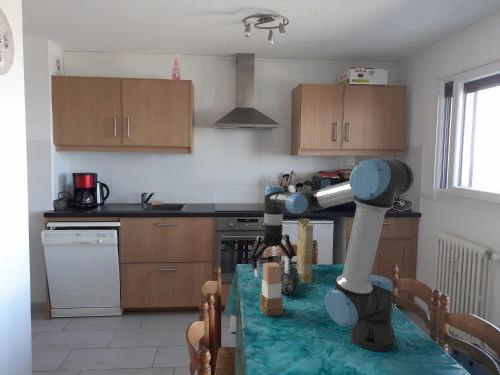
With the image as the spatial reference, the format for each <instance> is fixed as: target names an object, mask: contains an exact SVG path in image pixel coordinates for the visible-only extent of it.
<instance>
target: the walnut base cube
mask: <svg viewBox="0 0 500 375" xmlns="http://www.w3.org/2000/svg"><path fill="white" fill-rule="evenodd" d="M283 300H284V297H282V296H281V298H273V299H267V298H266V297H265V296H263V295H262V292H261V293H260V294H259V310H260V312H262V313H263V314H264V316H265V317H273V316H278V315H283V305H284V303H283V302H284V301H283Z"/></svg>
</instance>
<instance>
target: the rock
mask: <svg viewBox="0 0 500 375" xmlns="http://www.w3.org/2000/svg"><path fill="white" fill-rule="evenodd" d="M276 263H277V264H279V265H280V266H281V293H282V294H285V295H286V294H289V293H292V292H293V291H294V288H296V287H297V286H299V284H300V282H301V279H300V277H299V276H300V274H299V273H297V272H298V269H297V267H296V266H295V265H294V264H293V263H291V265H290V266H289V274H286V273H285V260H280V261H279V262H276Z"/></svg>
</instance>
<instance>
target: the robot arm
mask: <svg viewBox="0 0 500 375" xmlns="http://www.w3.org/2000/svg"><path fill="white" fill-rule="evenodd" d="M414 178H415V175H414V172H413V169H412V168H411V166H410V165H409V164H407V163H406V162H404V161H403V160H400V159H385V158H383V159H382V158H381V159H380V158H371V159H365V160H363V161H361V162H359V163H357V164H356V165H355V166H354V168H353V169H352V171H351V172H350V176H349V180H348V181H344V182H341V183H337V184H333V185H330V186H327V187H324V188H321V189H317V190H313V191H301V192H299V191H298V192H286V191H285V190H284V189H285V188H284V186H282V185H266V186H265V189H264V196H263V197H264V209H263V210H264V213H263V214H264V216H263V222H264V224H263V236H260V235H256V237H255V242H254V244H253V246H252V248H251V251H250V253H249V255H248V256H247V257H248V259H249V260H251V261H252V268H253V269H254V276H255V278H259V276H260V260H259V259H260V258H261V257H262V255H263V254H264V252H265V251H266V250H267V249H268V248H269V247H270V248H272V247H275V248H276V247H279V248H280V250H281V251H282V252H283V254H285V257H284V262H285V273H286V274H289V266H290V265H291V264H292V259H293V258H294V257H297V253H296V251H295V249H294V248H293V245H292V242H291V239H290V235H289V234H287V233H284V234H283V227H284V226H283V222H284V221H283V220H284V219H283V218H284V212H286V213H291V214H294V215H295V214H299V215H300V214H303V213H304V212H309V211H319V210H320V211H321V210H324V209H326V208H329V207H334V206H338V205H342V204H347V203H351V202H354V203H355V204H356V206H355V208H356V209H355V212H354V213H355V214H354V217H353V223H352V225H351V226H352V228H351V232H350V236H349V243H348V246H347V251H346V254H345V261H344V265H343V270H342V273H341V274H340V275H338V276H337V277H336V279H335V285H334V287H333V289H330V290H329V291H328V292H327V293H326V295H325V298H324V304H325V305H324V306H325V308H326V311H327V313H328V315H329V317H330V318H331V319H332V321H334V322H335V323H336V324H338V325H340V326H343V327H344V326H345V327H347V326H351V325H353V326H352V327H351V330H350V340H351V342H352V343H353V344H354V345H356V346H358V347H360V348H362V349H365V350H369V351H372V352H373V351H374V352H389V351H391V350H393V349H394V348H395V347H396V341H397V340H396V336H395V331H394V328H393V327H394V326H393V324H392V313H393V312H392V311H393V297H394V296H393V295H394V283H393V281H392V280H390V279H389V278H387V277H384V276H382V275H381V276H380V275H376V274H372V272H373V269H374V268H373V267H374V264H375V259H376V255H377V254H376V253H377V250H378V247H379V241H380V237H381V233H382V228H383V223H384V220H385V216H386V212H387V211H388V210H390V209H392V208H393V204H394V200H395V197H398V196H403V195H405V194H406V193H407V192H409V191H410V189H411V188H412V186H413V184H414V180H415V179H414ZM282 240H283V241H284V243H285V245H286V247H287V248H286V247H285V246H284V244H283V243H282ZM262 242H263V243H262ZM261 243H262V244H261Z"/></svg>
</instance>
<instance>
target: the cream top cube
mask: <svg viewBox="0 0 500 375" xmlns="http://www.w3.org/2000/svg"><path fill="white" fill-rule="evenodd" d="M261 293H262V295H263V296H265V297H266V298H267V299H273V298H281V297H282V291H281V283H274V284H267V283H266V282H265V281H264V280H263V279H262V280H261Z"/></svg>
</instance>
